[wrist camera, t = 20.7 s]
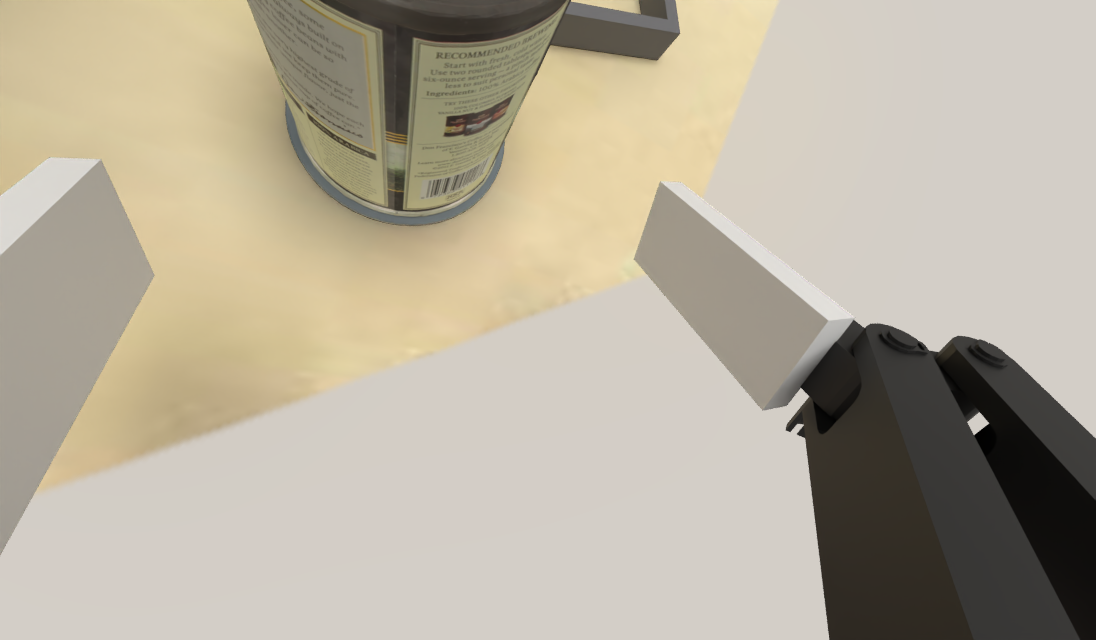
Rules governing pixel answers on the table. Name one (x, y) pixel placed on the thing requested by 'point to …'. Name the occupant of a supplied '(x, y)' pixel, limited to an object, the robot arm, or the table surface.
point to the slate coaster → (375, 214)
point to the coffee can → (406, 90)
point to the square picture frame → (620, 29)
